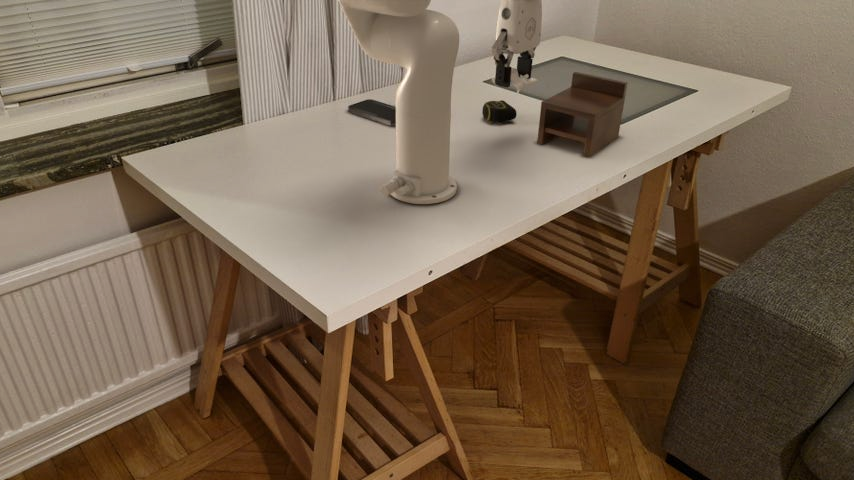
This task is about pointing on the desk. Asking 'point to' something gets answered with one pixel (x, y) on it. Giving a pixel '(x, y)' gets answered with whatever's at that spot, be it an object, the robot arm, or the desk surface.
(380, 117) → the phone
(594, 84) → the shelf
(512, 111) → the tape measure
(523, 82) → the pelvis model
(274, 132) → the desk surface
